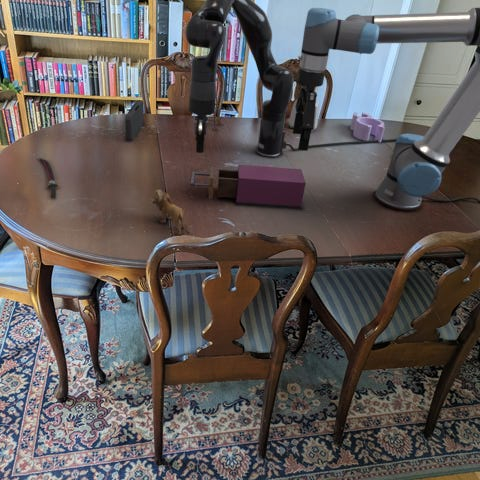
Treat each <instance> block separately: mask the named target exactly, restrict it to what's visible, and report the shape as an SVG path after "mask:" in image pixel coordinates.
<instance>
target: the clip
mask: <svg viewBox="0 0 480 480" xmlns="http://www.w3.org/2000/svg"><path fill="white" fill-rule="evenodd" d="M358 114H359V113H358V112H353V114H352V118H351V122H350V126H349V129H350V130H351V131H353V132H352V136H353V137H354V138H356V139H358V140H360V141H370V135H372V136H374V139H373V140H379V142H378V143H382V142H381V140H383V137H384V132H385V129H386V127H385V122H384V121H383V120H380V119H377V118H374V117H372V115H371V114H369V113H366V112H361V115H358Z"/></svg>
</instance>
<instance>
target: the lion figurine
mask: <svg viewBox="0 0 480 480" xmlns="http://www.w3.org/2000/svg"><path fill="white" fill-rule="evenodd" d="M154 191H155V192H154V194H153V196H152V197H150V198H149V200H150V201H151V203H152V204H153V205H155V206H156V207H158V209H159V211H160V212H161V217H162V219H161V220H160V223H162V224H163V223H166V222H167V220H171V219H173V223H174V225H175V227H176V229H177V231H176V235H178V236H180V235H182V229H183V230H184V232H185V233H186V234H188V235H190V234H191V232H190V231H189V230H187V229H186V227H185V221H184V220H185V219H184V218H185V213H184V210H183V209H182V208H181V207H179V206H177V205H176V204H175V203H173V200H172V198H171V197H170V195H169V194H168V192H166V191H164V190H162V189H156V190H154ZM179 221H180V223H179Z"/></svg>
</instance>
